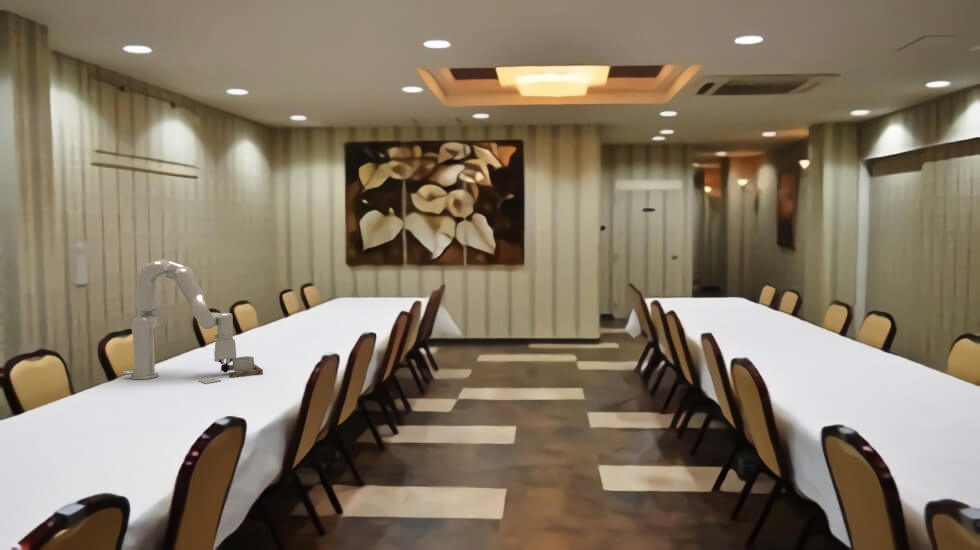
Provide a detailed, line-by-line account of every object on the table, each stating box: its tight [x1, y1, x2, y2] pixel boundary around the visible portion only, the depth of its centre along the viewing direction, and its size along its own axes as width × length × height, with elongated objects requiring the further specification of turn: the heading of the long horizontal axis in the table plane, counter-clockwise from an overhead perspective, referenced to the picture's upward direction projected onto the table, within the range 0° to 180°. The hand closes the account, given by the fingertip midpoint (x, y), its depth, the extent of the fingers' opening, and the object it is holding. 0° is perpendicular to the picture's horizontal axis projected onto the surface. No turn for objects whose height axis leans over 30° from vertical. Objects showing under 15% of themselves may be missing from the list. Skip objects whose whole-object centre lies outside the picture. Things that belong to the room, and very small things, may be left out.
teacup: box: [231, 355, 255, 372], centre depth 371 cm, size 14×11×8 cm
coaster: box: [197, 377, 222, 385], centre depth 349 cm, size 8×8×1 cm
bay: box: [220, 363, 264, 379], centre depth 371 cm, size 16×20×2 cm
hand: (225, 371), depth 366 cm, fingers closed
